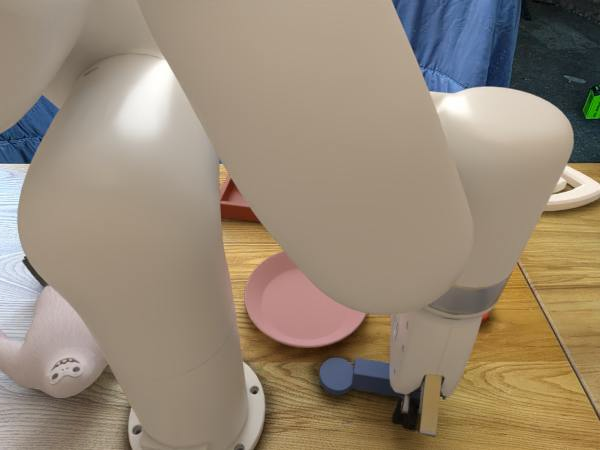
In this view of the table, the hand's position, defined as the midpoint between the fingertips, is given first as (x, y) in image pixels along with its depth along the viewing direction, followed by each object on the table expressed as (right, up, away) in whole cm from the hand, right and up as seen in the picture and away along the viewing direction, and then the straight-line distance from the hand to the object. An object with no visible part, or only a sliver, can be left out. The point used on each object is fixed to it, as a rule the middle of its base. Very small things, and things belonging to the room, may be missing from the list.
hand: (408, 384), depth 44 cm
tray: (-15, +19, +21) cm, 32 cm away
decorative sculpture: (+6, +28, +28) cm, 40 cm away
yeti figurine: (-41, +11, +9) cm, 43 cm away
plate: (-10, +6, +9) cm, 15 cm away
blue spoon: (-4, 0, +1) cm, 4 cm away
